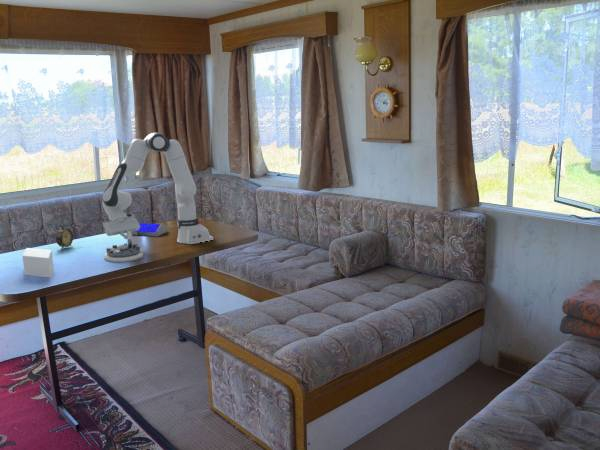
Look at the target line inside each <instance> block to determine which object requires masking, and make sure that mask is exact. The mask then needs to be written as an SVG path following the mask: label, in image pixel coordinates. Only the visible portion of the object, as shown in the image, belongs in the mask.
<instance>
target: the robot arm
mask: <svg viewBox="0 0 600 450" xmlns="http://www.w3.org/2000/svg"><path fill="white" fill-rule="evenodd" d="M151 151H152V152H157V153H158V152H159V153H160V152H161V153H163V154H164V156H165V159H166V162H167V165H168V166H167V167H169V171H170V174H171V176H172V179H173V182H174V193H175V200H176V205H177V221H176V222H177V223H176V224H177V228H178V230H177V233H178V234H177V239H176V242H177V243H179V244H187V245H193V244H194V245H195V244H200V242H202V243H206V242H205V241H208V242H211V241H210V240H213V241H214V237H213V235H210V232H209V229H208V228H207V227H205V226H204V225H203V224H201V223H202V219H200V218H198V217H197V210H196V209H197V207H196V201H195V195H196V194H197V186H196V182H195V180H194V178H193V175H192V173H191V170H190V168H189V166H188V162H187V158H186V154H185V152H184V150H183V148H182V146H181V144H180V142H179V141H178V140H177V139H168V138H167V137H166V136H165V135H164V134H162V133H160V132H157V131H156V132H150V133H148V134H146V136H145V137H144V138H143V139H142V138H134V139H133V140H132V141H131V143H130V145H129V147H128V149H127V151H126V154H125V157H124V159H123V160H122V162H121V163H120V164H118V165H117V167H116V169H115V171H114V173H113V175H112V177H111V179H110V181H109V183H108V185H107V187H106V189H105V190H104V191H103V193H102V200H101V204H102V208H103V210H104V213H105V214H107V216H108V217H107V218H108V221H107V220H106V221H104V222H102V227H103V229H104V231H105V234H106V236H107V237H111V236H118V235H120V236H121V237H123V238H124V240H128V237H127V231H131V232H133V231H138V230H139V228H140V225H139V222H138V220H137V218H136V217H134V216H135V215H134V214H133V213H127V212H124V211H125V210H127V208H129V207H131V206H132V203H133V196H132V195H131V193H130V192H126V191H122V190H120V187H121V185H122V183H123V180H124V178H125V177H127V176H129V175H131V174H136V173H138V172H140V171H141V170H142V169H143V167H144V165H145V162H146V160H147V155H148V154H149V153H150V152H151Z"/></svg>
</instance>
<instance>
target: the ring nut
mask: <svg viewBox="0 0 600 450" xmlns="http://www.w3.org/2000/svg"><path fill="white" fill-rule="evenodd" d="M126 235H127V237H128V239H127V243H123V245H127V249H126V250H119V246H120V245H118V246H117V244H112V247H106V249H105V250H106V253H107V255H108V256H110V257H128V256H133V255H136V254H139V253H140V250H141V246H140V245H139V246H138V243H134V244H133V235H132V233H131V231H127V234H126Z"/></svg>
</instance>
